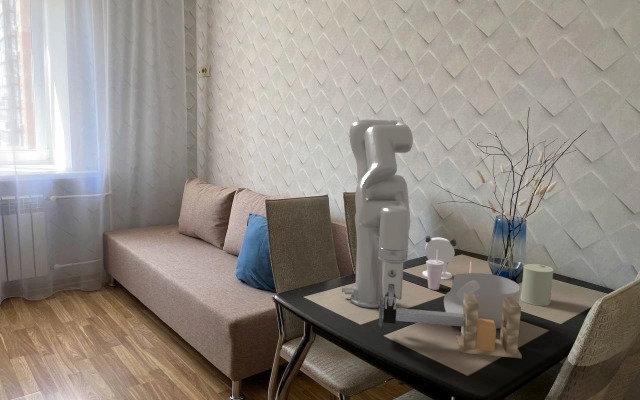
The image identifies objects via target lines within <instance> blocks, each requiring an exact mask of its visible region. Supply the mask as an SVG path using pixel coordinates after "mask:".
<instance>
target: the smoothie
mask: <svg viewBox="0 0 640 400" xmlns="http://www.w3.org/2000/svg"><path fill="white" fill-rule="evenodd" d="M425 264H426V270H427V275H428V277H427V285H428V286H427V287H428V289H429V290H435V291H437V290H440V286H441V285H440V284H441V281H442V280H441V275H442V271H443V266H444V262H443V261H440V260H438V250H437V254H436V260H427V259H426V261H425Z"/></svg>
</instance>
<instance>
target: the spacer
mask: <svg viewBox="0 0 640 400" xmlns="http://www.w3.org/2000/svg"><path fill="white" fill-rule="evenodd" d="M496 336H497V329H496V327H495V323H494V320H487V319H479V318H478V319H477V331H476V344H475V349H480V350H488V351H494V349H495V339H496V338H497V337H496Z"/></svg>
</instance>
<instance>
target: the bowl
mask: <svg viewBox="0 0 640 400" xmlns="http://www.w3.org/2000/svg"><path fill="white" fill-rule="evenodd" d="M453 277H454V278H453V280H452V285H451V287H450V291H448V292H447V293H446V294H444V297H443V305H444V310H445V312H449V313H461V314H463V300H464V293H465V294H474V296H475V298H476V300H477V302H478V304H479V306H478V318H479V319H487V320H494V323H495V327H496V330H497V329H498V330H499V329H500V330H501V321H502V309H503V298H504V297H514V298H515V300H516V301H517V302H518V304H519V303H520V302H519V301H520V295H521V294H520V291H521V287H520V285H519V284H518V283H517V282H515V281H514V280H511V279H509V278H507V277H504V276H499V275H496V274H490V273H480V272H471V273H469V272H465V273H457V274H455V275H454V276H453ZM519 305H520V304H519Z"/></svg>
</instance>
